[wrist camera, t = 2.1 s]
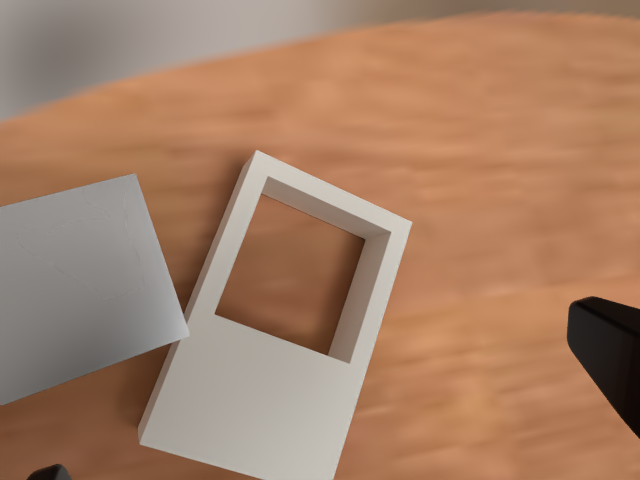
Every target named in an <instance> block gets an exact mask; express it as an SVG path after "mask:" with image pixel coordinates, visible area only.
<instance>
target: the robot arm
mask: <svg viewBox="0 0 640 480" xmlns="http://www.w3.org/2000/svg"><path fill="white" fill-rule="evenodd" d="M567 342H568V345H569V347H570V349H571V351H572V352H573V354H574V355H575V356H576V358H577V359H578V360H579V362H580V363H581V364H582V366H583V367H584V369H585V370H586V371H587V373H588V374H589V375H590V377H591V378H592V379H593V381H594V382H595V383H596V385H597V386H598V388H599V389H600V390H601V392H602V393H603V394H604V396H605V397H606V398H607V400H608V401H609V403H610V404H611V405H612V407H613V408H614V409H615V410H616V412H617V413H618V414H619V416H620V417H621V418H622V419H623V420H624V422H625V423H626V424H627V425H628V426H629V427H630V429H631V430H632V431H633V432H634V433H635V434H636V435H637V436H638V438H639V439H640V309H638V308H634V307H630V306H627V305H623V304H620V303H616V302H613V301H609V300H606V299H602V298H598V297H594V296H590V297H586V298H583V299H580V300H577V301H574V302H572V303H571V305H570V307H569V313H568V327H567ZM27 480H72V479H71V477H70V475H69V473H68V471H67V470H66V468H65V467H64V466H63V465H61V464H55V465H52V466H49V467H45V468H42V469H39V470H36V471H34V472H33V473H32V474H31V475H30V476H29V477H28V478H27Z"/></svg>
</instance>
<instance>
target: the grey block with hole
mask: <svg viewBox="0 0 640 480" xmlns="http://www.w3.org/2000/svg"><path fill="white" fill-rule="evenodd" d="M261 194H264V195H266V196H268V197H270V198H273V199H275V200H277V201H279V202H282V203H284V204H286V205H289V206H291V207H293V208H295V209H298V210H300V211H302V212H304V213H307V214H309V215H311V216H313V217H316V218H318V219H320V220H322V221H325V222H327V223H329V224H331V225H334V226H336V227H338V228H341V229H343V230H345V231H347V232H350V233H352V234H354V235H356V236H359V237H361V238H363V239H365V243H364V246H363V249H362V252H361V256H360V259H359V262H358V265H357V268H356V271H355V274H354V277H353V280H352V283H351V286H350V289H349V292H348V295H347V298H346V301H345V304H344V307H343V310H342V313H341V316H340V320H339V323H338V326H337V329H336V332H335V335H334V338H333V341H332V344H331V347H330V350H329V353H328V356H327V355H324V354H321V353H318V352H316V351H313V350H310V349H307V348H305V347H302V346H299V345H297V344H294V343H291V342H288V341H286V340H283V339H280V338H277V337H275V336H272V335H269V334H266V333H264V332H261V331H258V330H256V329H253V328H250V327H247V326H245V325H242V324H239V323H236V322H234V321H231V320H228V319H225V318H223V317H220V316H217V315H215V314H214V313H215V311H216V308H217V305H218V303H219V300H220V298H221V295H222V293H223V290H224V287H225V285H226V282H227V280H228V277H229V274H230V272H231V269H232V267H233V264H234V262H235V259H236V256H237V254H238V251H239V249H240V246H241V244H242V241H243V238H244V236H245V233H246V231H247V228H248V226H249V223H250V220H251V218H252V215H253V213H254V210H255V208H256V205H257V202H258V200H259V197H260V195H261ZM411 225H412V222H411V221H408V220H406V219H404V218H402V217H400V216H398V215H396V214H393V213H391V212H389V211H387V210H385V209H383V208H381V207H378V206H376V205H374V204H372V203H370V202H368V201H365V200H363V199H361V198H359V197H357V196H355V195H353V194H350V193H348V192H346V191H344V190H342V189H340V188H337V187H335V186H333V185H331V184H329V183H327V182H325V181H322V180H320V179H318V178H316V177H314V176H312V175H310V174H307V173H305V172H303V171H301V170H299V169H297V168H294V167H292V166H290V165H288V164H286V163H284V162H282V161H279V160H277V159H275V158H273V157H271V156H269V155H267V154H264V153H262V152H260V151H258V150H256V151H255V152H254V154H253V155H252V156H251V157H250V159H249V160H248V161H247V162H246V163H245V165H244V166H243V168H242V170H241V173H240V175H239V178H238V180H237V183H236V185H235V188H234V190H233V193H232V195H231V198H230V200H229V202H228V205H227V207H226V210H225V212H224V215H223V217H222V220H221V222H220V225H219V227H218V230H217V232H216V235H215V237H214V240H213V242H212V245H211V247H210V250H209V252H208V255H207V257H206V260H205V262H204V265H203V267H202V270H201V272H200V275H199V277H198V280H197V282H196V284H195V287H194V289H193V292H192V294H191V297H190V299H189V302H188V304H187V307H186V309H185V312H184V314H183V315H184V318H185V321H186V324H187V327H188V330H189V333H190V336H188V337H185V338H183V339H180V340H177V341H175V342H172V344H171V347H170V349H169V352H168V354H167V357H166V359H165V362H164V364H163V366H162V369H161V371H160V374H159V376H158V379H157V381H156V384H155V386H154V389H153V391H152V394H151V396H150V399H149V401H148V404H147V406H146V409H145V411H144V414H143V416H142V419H141V421H140V424H139V426H138V439H139V444H140V445H143V446H147V447H150V448H154V449H157V450H161V451H164V452H168V453H171V454H175V455H179V456H182V457H186V458H189V459H193V460H196V461H200V462H203V463H207V464H210V465H214V466H217V467H221V468H224V469H228V470H231V471H235V472H238V473H242V474H245V475H249V476H252V477H256V478H259V479H263V480H333V478H334V475H335V472H336V468H337V465H338V462H339V459H340V455H341V452H342V449H343V446H344V442H345V439H346V436H347V433H348V429H349V426H350V423H351V420H352V416H353V413H354V410H355V407H356V403H357V400H358V397H359V394H360V390H361V387H362V384H363V381H364V377H365V374H366V371H367V368H368V364H369V361H370V358H371V355H372V351H373V348H374V345H375V342H376V338H377V335H378V332H379V329H380V325H381V322H382V319H383V316H384V312H385V309H386V306H387V303H388V299H389V296H390V293H391V290H392V287H393V283H394V280H395V277H396V274H397V270H398V267H399V264H400V261H401V257H402V254H403V251H404V248H405V244H406V241H407V238H408V235H409V231H410V228H411Z"/></svg>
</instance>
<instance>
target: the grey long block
mask: <svg viewBox="0 0 640 480" xmlns="http://www.w3.org/2000/svg"><path fill="white" fill-rule="evenodd" d="M188 336H190V333H189V330H188V327H187V324H186V321H185V318H184V315H183V313H182V310H181V307H180V304H179V301H178V298H177V295H176V292H175V289H174V286H173V283H172V280H171V277H170V274H169V271H168V268H167V265H166V262H165V259H164V256H163V253H162V250H161V247H160V244H159V241H158V238H157V235H156V233H155V230H154V227H153V224H152V221H151V218H150V215H149V212H148V209H147V206H146V203H145V200H144V197H143V194H142V191H141V188H140V185H139V182H138V179H137V176H136V173H134V174H130V175H126V176H122V177H118V178H114V179H110V180H106V181H102V182H98V183H94V184H90V185H86V186H82V187H78V188H74V189H70V190H66V191H62V192H58V193H54V194H50V195H46V196H42V197H38V198H34V199H30V200H26V201H22V202H18V203H14V204H10V205H6V206H2V207H0V403H1V406H3V405H5V404H8V403H11V402H14V401H16V400H19V399H22V398H24V397H27V396H30V395H32V394H35V393H38V392H40V391H43V390H46V389H48V388H51V387H54V386H56V385H59V384H62V383H65V382H67V381H70V380H73V379H75V378H78V377H81V376H83V375H86V374H89V373H91V372H94V371H97V370H99V369H102V368H105V367H107V366H110V365H113V364H115V363H118V362H121V361H124V360H126V359H129V358H132V357H134V356H137V355H140V354H142V353H145V352H148V351H150V350H153V349H156V348H158V347H161V346H164V345H166V344H169V343H172V342H175V341H177V340H180V339H183V338H185V337H188Z"/></svg>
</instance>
